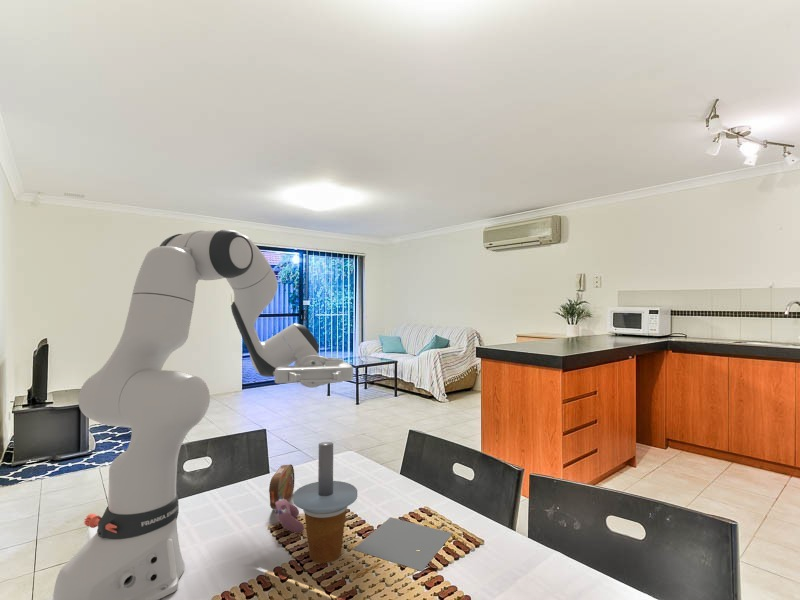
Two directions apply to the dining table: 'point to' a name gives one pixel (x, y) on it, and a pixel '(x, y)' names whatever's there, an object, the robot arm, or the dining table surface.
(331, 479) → the lid
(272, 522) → the dining table surface
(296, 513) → the video game controller
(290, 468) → the tin
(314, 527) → the disposable coffee cup
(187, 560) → the dining table surface
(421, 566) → the mat
